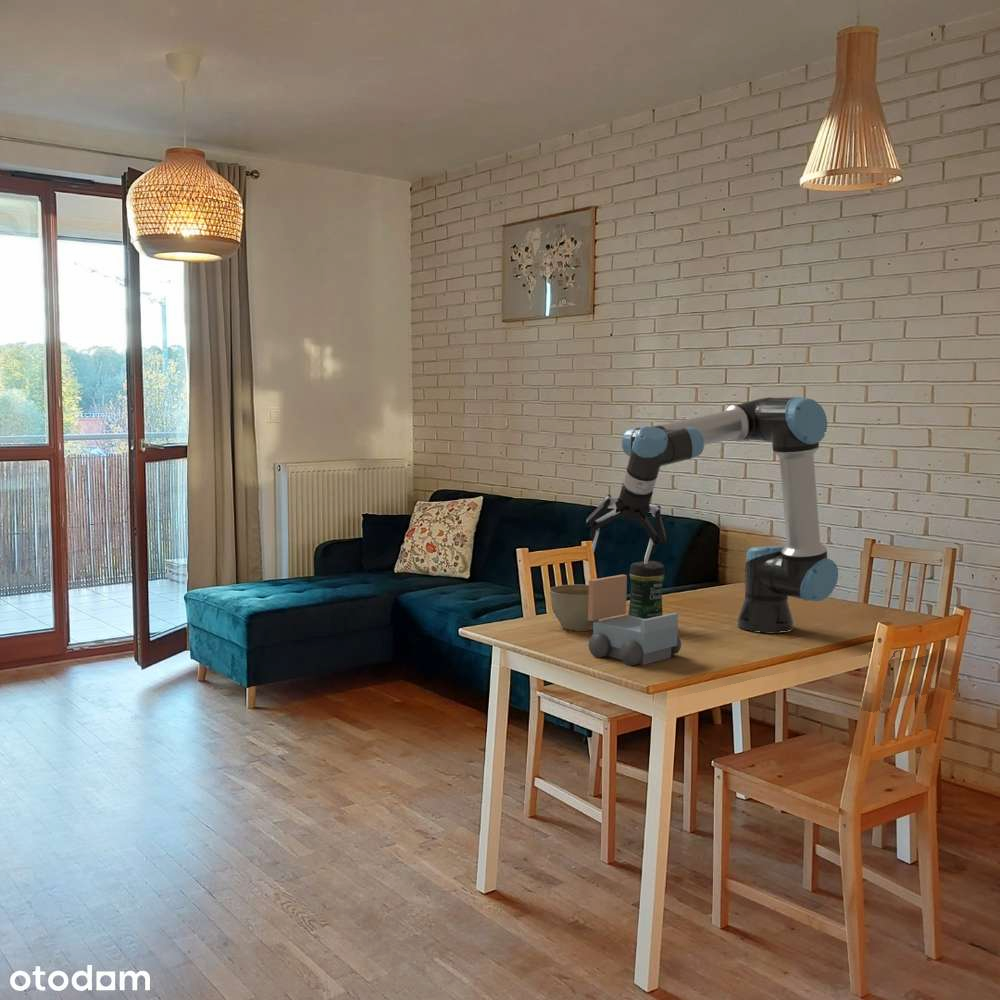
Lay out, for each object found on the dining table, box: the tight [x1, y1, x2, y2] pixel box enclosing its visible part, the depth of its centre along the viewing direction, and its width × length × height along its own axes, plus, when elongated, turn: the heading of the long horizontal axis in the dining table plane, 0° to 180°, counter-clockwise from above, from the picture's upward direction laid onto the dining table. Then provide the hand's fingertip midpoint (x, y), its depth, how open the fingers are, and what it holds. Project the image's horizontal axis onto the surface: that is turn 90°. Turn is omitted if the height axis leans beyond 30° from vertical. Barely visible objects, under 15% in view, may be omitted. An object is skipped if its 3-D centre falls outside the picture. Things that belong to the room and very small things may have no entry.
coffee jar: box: [627, 560, 665, 619], centre depth 282 cm, size 10×8×19 cm
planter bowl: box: [548, 584, 600, 632], centre depth 280 cm, size 16×16×11 cm
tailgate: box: [588, 574, 628, 621], centre depth 256 cm, size 2×13×10 cm, turn 134°
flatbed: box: [588, 612, 682, 667], centre depth 250 cm, size 16×17×11 cm
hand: (619, 554), depth 256 cm, fingers open, 13 cm apart
